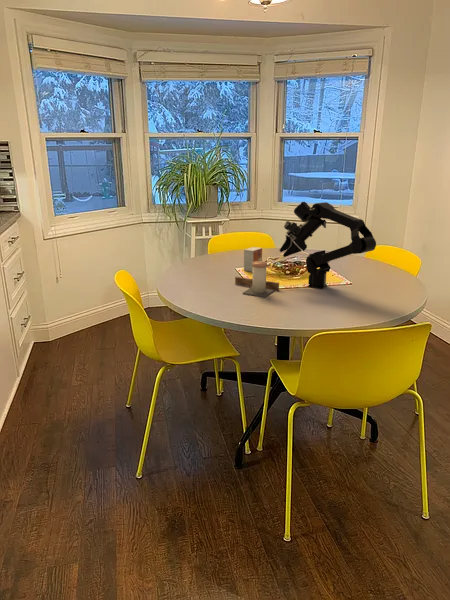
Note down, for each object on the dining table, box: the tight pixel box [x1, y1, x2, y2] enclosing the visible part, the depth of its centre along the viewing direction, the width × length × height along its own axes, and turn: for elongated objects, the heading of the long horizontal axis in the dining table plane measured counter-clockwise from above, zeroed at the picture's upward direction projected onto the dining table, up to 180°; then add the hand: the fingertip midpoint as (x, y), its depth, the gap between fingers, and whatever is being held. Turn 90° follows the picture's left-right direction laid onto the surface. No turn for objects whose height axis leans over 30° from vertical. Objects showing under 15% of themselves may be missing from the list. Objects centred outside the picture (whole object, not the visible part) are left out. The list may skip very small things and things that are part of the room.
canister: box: [251, 260, 268, 293], centre depth 187 cm, size 6×6×12 cm
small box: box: [243, 246, 263, 273], centre depth 221 cm, size 8×6×10 cm
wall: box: [234, 276, 280, 291], centre depth 196 cm, size 20×1×3 cm, turn 63°
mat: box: [242, 286, 275, 298], centre depth 189 cm, size 10×10×1 cm
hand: (281, 253), depth 195 cm, fingers open, 9 cm apart
